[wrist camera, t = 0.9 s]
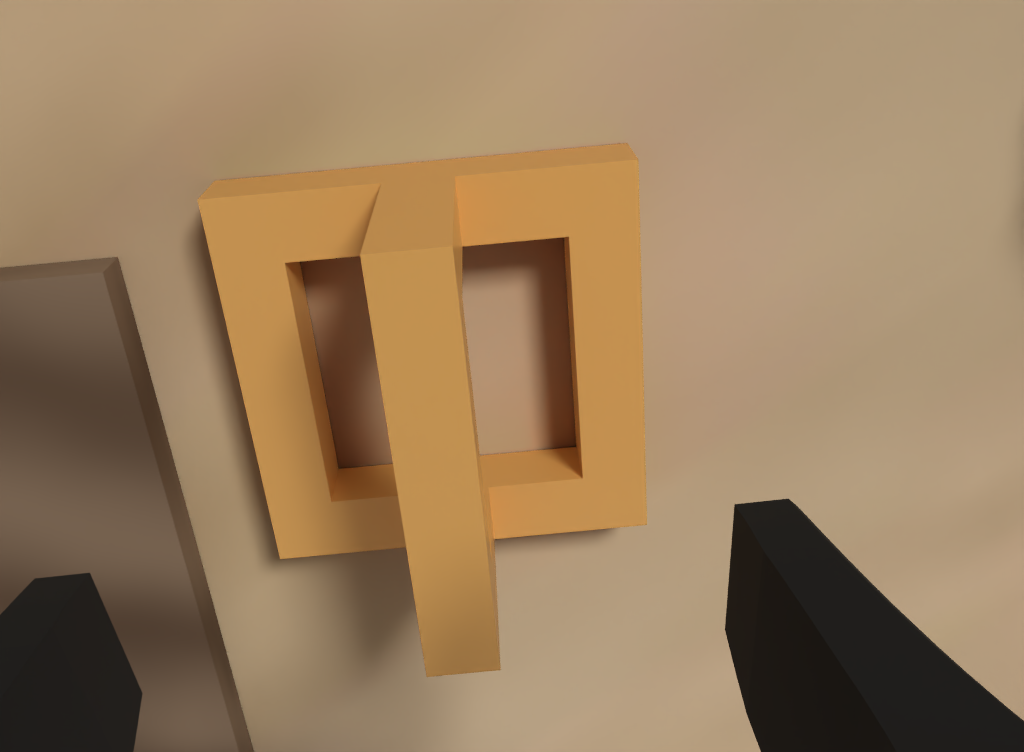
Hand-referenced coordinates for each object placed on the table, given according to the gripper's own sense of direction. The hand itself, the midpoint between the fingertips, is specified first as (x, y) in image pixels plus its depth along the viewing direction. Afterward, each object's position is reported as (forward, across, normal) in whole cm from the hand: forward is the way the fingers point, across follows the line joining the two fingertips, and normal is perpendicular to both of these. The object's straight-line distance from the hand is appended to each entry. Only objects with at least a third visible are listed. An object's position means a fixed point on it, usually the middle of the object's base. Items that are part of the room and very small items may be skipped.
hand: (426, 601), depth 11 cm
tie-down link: (+12, 0, +4) cm, 12 cm away
